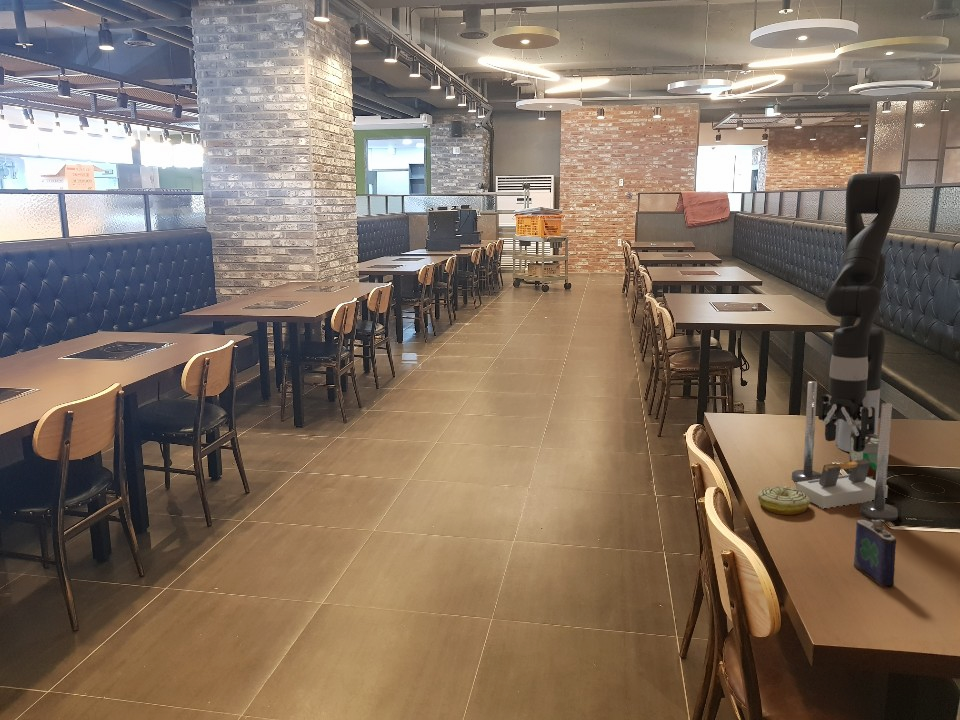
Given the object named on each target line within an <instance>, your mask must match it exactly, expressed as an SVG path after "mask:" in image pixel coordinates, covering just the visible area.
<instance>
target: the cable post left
mask: <svg viewBox="0 0 960 720" xmlns="http://www.w3.org/2000/svg"><path fill="white" fill-rule="evenodd" d="M806 390H807V391H806V393H807V394H806V395H807V396H806V409H805V410H806V413H805V429H804V430H805V432H804V450H803V451H804V452H803V456H804V457H803V468H802V469H797V470H794V471H792V472H791V480H793V481H794V483H795V482H802V481H809V480H815V479H820V478H821V474H822V472H819V471H815V470H813V467H814V466H813V465H814V450H815V449H814V447H815V429H816V415H817V414H816V410H817V393H818V381H814V380H809V381H807V389H806ZM793 481H792V482H793Z"/></svg>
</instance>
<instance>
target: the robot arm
mask: <svg viewBox="0 0 960 720" xmlns="http://www.w3.org/2000/svg"><path fill="white" fill-rule="evenodd" d="M900 197H901V179H900V176H898V174H895V173H885V172H884V173H855V174H852V175H851V176H850V177H849V179H848V181H847V184H846V190H845V246H844V247H845V248H844V259H843V262H842V266H841V269H840V271H839V274H838V275H837V277H836V278H835V280H834V282H833V283H832V284H831V286H830V288H829V289H828V291H827V294H826V297H825V303H824V305H825V308H826V311H827V313H829V314H830V315H831V316H833V317H840V323H839V324H840V325H839V328H837V329H835V330H834V331H833V333H832V334H833V335H832V348H831V349H832V350H831V358H830V359H831V360H830V362H829V363H830V365H829V377H828V379H829V380H828V393H827V394H822V395H820V397H819V406H818V407H819V408H818V416H817V418H818V420H820V421H822V422H823V424H824V425H825V427H824V428H825V429H824V437H825V441H827V442H835V446H837V448H839V450H842V451H844V452H846V453H847V452H848V453H850V438H849V436H850V430H853V431H854V433H855V435H854V445H853V450H854V451H855V452H862V451H863V450H864V449H865V441H866V435H870V434H876V435H878V425H879V415H880V414H879V413H880V412H879V411H880V400H881V399H880V398H881V395H880V394H881V384H882V383H881V382H882V367H883V358H884V353H885V352H884V351H885V344H886V335H885V332H884V330H883V328H880V327H874V326H873V323H874V321H875V319H876V316H877V313H878V311H879V309H880V306H881V303H882V294H881V291H882V289H883V287H884V285H885V284H884V283H885V274H886V260H885V257H884V255H883V253H882V250H883V247H884V243H885V241H886V237H887V235H888V233H889V230H890V229H891V225H892V223H893V220H894V217H895V215H896V214H895V213H896V211H897V208H898V205H899V201H900ZM864 214H866V215H876V216H875V218H874V219H873V220H872V221H871V222H869V224H867V226H865V224H864V220H863V217H862V216H863V215H864ZM858 318H859V319H860V320H859V322H858V323H857V324H856V322H857V320H858Z"/></svg>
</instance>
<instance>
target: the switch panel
mask: <svg viewBox="0 0 960 720" xmlns="http://www.w3.org/2000/svg"><path fill="white" fill-rule="evenodd" d="M849 475H850V473H849V474H843V475H839V476H838V479H837V483H836V486H831V487H825V488H823V487H822V486H821V485H820V484H819V481H820V479H815V480H809V481H802V482H796V483H795V489H797V490H799V491H802V492H803V493H805V494H806V495H807V496H808V497H809V499H810V503H811V502H812V503H814V504H816V505H818V506H820V507H821V508H820V507H819V508H820V509H822V508H823V509H822V510H825V509H824V508H827V509H831V508H830V507H833V508H837V507H836V506H839V507H844V506H843V505H845V506H850V505H849V504H852V505H856V504H857V503H858V504H863V503H866V502H867V501H870V502H873V501H872V500H874V496H875V482H876V481H875V480H873V479H870V478H868V477H866V480H865V481H863V482H856V483H853V482H852V481H850V480H849ZM888 489H889V485H887V484H886V494H885V498H887V499H888V492H889V491H888ZM812 503H811V504H812ZM814 504H813V505H814ZM816 505H815V506H816ZM818 506H817V507H818Z"/></svg>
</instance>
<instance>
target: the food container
mask: <svg viewBox="0 0 960 720" xmlns="http://www.w3.org/2000/svg"><path fill="white" fill-rule="evenodd" d="M854 435H855V433H854V431H853V430H850V436H849V438H850V452H849V457H848V459H849V461H848V462H854V461H855V460H861V459H867V460H868V461H869V462H871V464H870V467H869V470H868V473H867V476H866V477H868V478H870V479H873V480H875V481H876V468H877V454H878V440H879V434H877V435H876V434H870V435H866V441H865V449H864V450H863V451H862V452H855V451H854V450H853V445H854ZM849 469H850V470H851V469H852V468H848V470H849ZM850 470H849V471H850Z"/></svg>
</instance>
